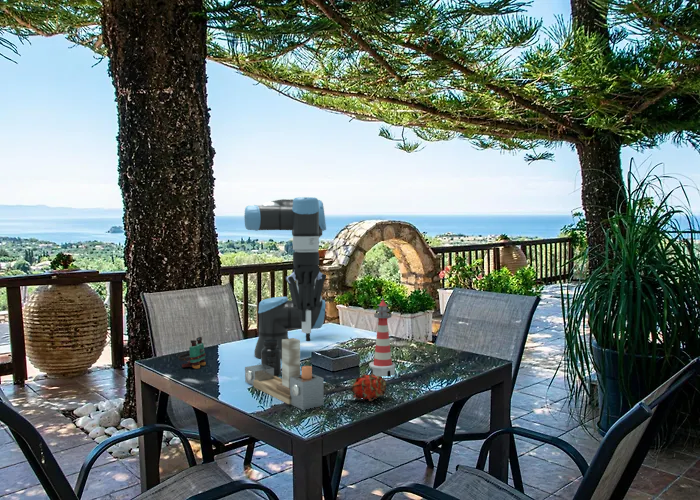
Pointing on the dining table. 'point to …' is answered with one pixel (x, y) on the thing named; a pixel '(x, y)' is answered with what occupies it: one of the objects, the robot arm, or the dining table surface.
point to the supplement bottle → (271, 356)
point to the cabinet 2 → (306, 392)
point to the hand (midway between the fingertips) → (306, 332)
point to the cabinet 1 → (258, 373)
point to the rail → (272, 388)
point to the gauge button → (306, 372)
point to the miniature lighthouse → (382, 344)
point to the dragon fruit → (369, 387)
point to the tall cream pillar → (289, 363)
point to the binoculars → (194, 354)
